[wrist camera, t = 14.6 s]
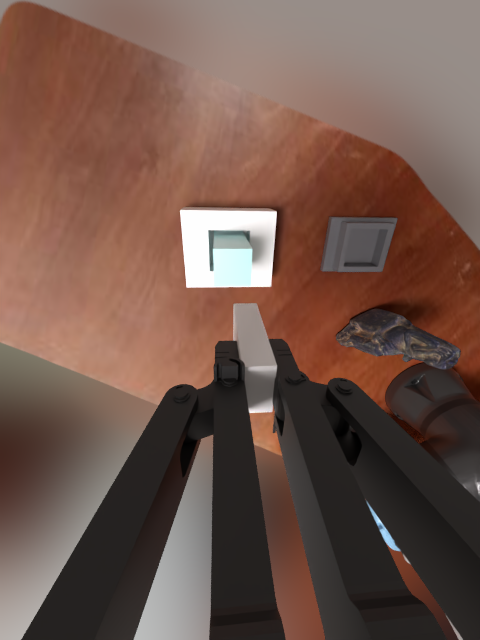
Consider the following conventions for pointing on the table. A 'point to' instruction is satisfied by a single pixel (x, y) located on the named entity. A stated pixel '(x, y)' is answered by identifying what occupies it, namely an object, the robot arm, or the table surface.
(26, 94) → the table surface
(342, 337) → the carved stone figurine
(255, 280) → the port
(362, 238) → the grey socket
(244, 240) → the plug
